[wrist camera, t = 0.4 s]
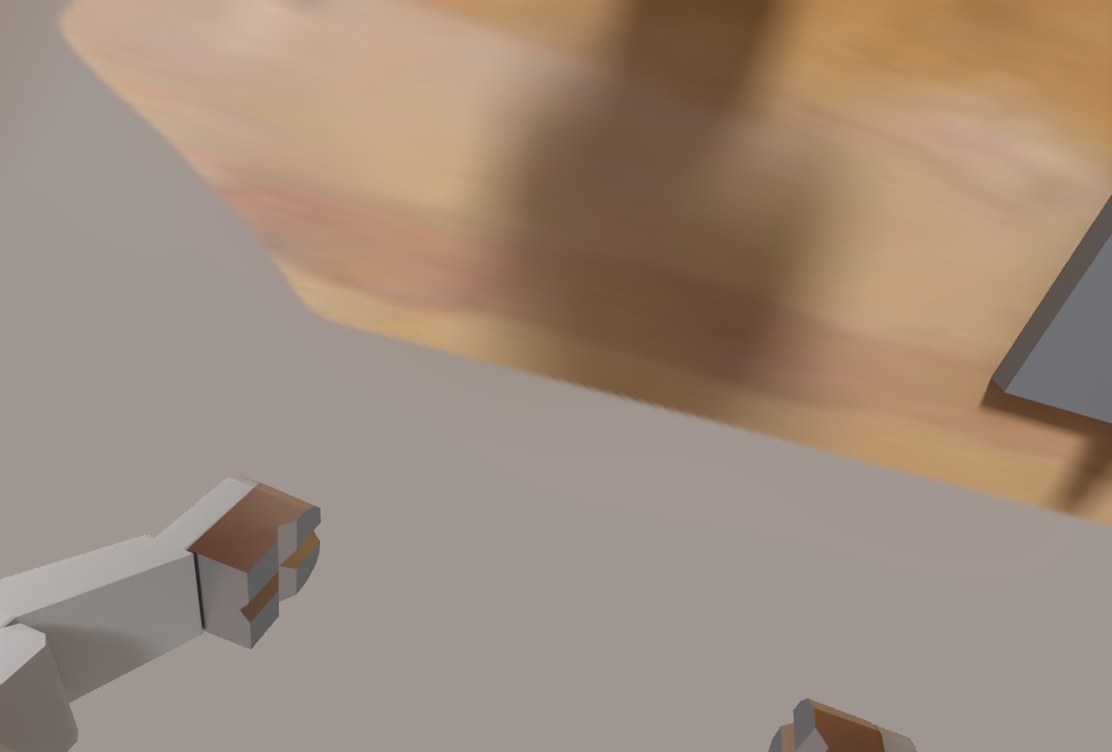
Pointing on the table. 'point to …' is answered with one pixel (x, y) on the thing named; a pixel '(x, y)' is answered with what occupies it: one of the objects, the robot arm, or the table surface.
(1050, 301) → the lock plate
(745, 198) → the table surface
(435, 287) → the table surface
